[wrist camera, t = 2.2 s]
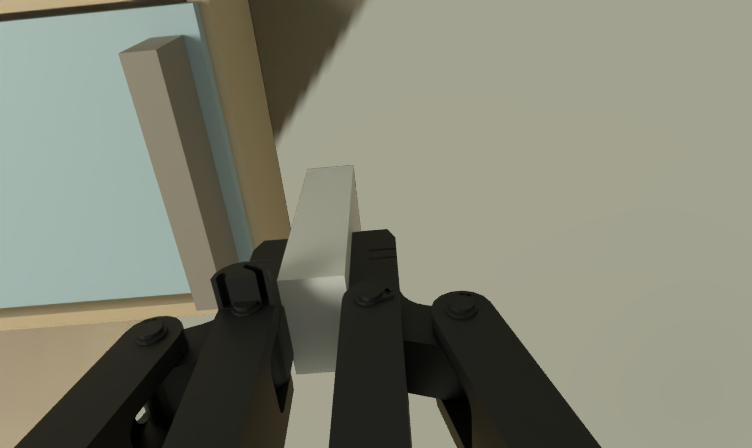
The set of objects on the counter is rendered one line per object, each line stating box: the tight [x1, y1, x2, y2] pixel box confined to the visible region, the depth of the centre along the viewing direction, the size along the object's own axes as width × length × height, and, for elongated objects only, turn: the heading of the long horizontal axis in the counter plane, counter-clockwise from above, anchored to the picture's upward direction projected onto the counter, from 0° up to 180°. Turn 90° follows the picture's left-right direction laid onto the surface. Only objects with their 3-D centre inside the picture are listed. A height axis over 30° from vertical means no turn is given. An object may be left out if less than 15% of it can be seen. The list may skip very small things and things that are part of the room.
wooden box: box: [0, 0, 291, 331], centre depth 25 cm, size 14×20×7 cm
